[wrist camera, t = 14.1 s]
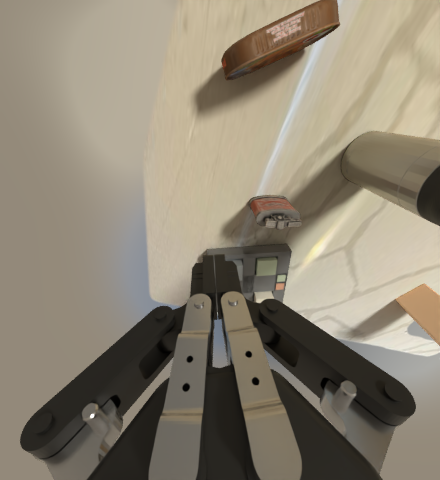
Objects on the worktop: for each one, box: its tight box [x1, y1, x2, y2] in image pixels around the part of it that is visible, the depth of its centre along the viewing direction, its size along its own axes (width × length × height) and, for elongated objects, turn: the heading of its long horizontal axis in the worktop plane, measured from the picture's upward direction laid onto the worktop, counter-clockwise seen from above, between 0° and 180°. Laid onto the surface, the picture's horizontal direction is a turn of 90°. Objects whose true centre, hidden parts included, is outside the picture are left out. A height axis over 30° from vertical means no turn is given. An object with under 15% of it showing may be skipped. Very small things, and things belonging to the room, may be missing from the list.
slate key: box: [225, 259, 243, 281], centre depth 48 cm, size 4×4×2 cm
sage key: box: [255, 257, 277, 276], centre depth 49 cm, size 4×4×2 cm
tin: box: [221, 0, 340, 80], centre depth 28 cm, size 15×3×8 cm, turn 110°
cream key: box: [254, 291, 274, 303], centre depth 54 cm, size 4×4×2 cm
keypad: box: [207, 244, 292, 312], centre depth 53 cm, size 19×19×3 cm
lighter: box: [249, 195, 302, 229], centre depth 40 cm, size 8×3×10 cm, turn 90°
